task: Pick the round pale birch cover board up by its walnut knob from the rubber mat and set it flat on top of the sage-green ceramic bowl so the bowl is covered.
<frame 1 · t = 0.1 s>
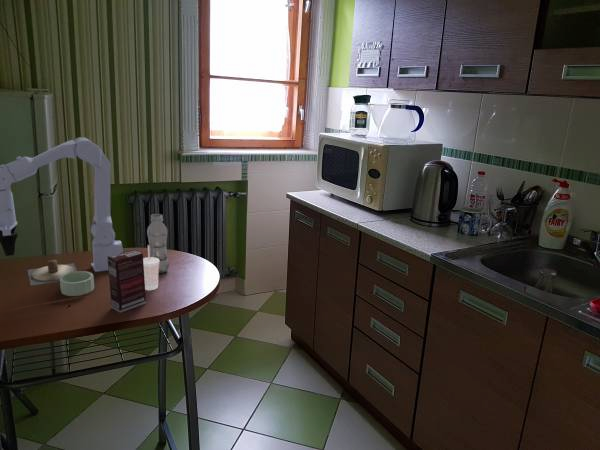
hand: (9, 251, 145), 10 cm above the table, tool pointing down, fingers open, 7 cm apart
supplement box: (128, 306, 136), on the table
plastic bottle: (159, 272, 160), on the table
beverage cup: (150, 287, 148), on the table
mat: (53, 274, 154), on the table
cover board: (53, 273, 153), resting on mat
bowl: (77, 290, 143), on the table
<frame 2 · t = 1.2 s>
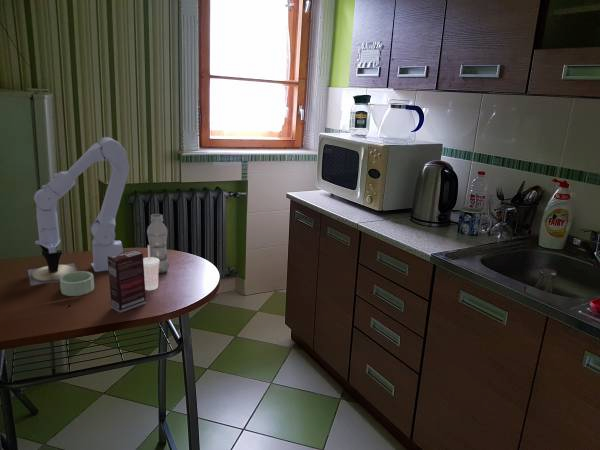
hand: (52, 267, 153), 3 cm above the table, tool pointing down, fingers open, 7 cm apart
nothing on the table moved.
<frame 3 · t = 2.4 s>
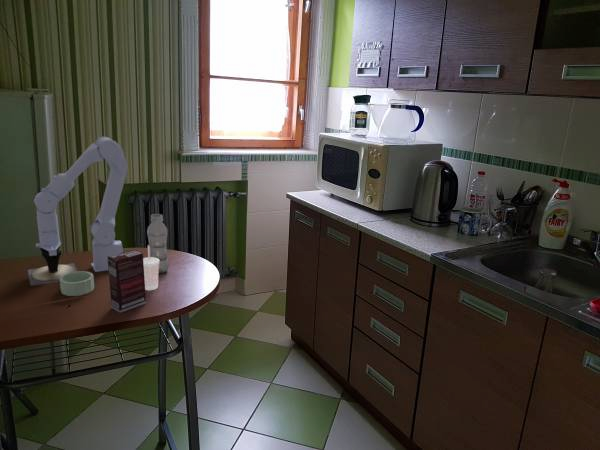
hand: (53, 269, 153), 2 cm above the table, tool pointing down, fingers closed on cover board, 3 cm apart
cover board: (53, 273, 153), resting on mat, touching gripper
everything else where it was.
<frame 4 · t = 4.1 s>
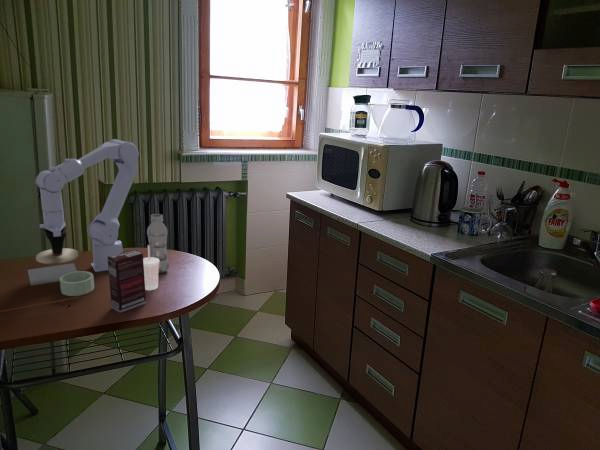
hand: (57, 251, 148), 9 cm above the table, tool pointing down, fingers closed on cover board, 3 cm apart
cover board: (57, 256, 148), point 8 cm above the table, touching gripper
everything else where it was.
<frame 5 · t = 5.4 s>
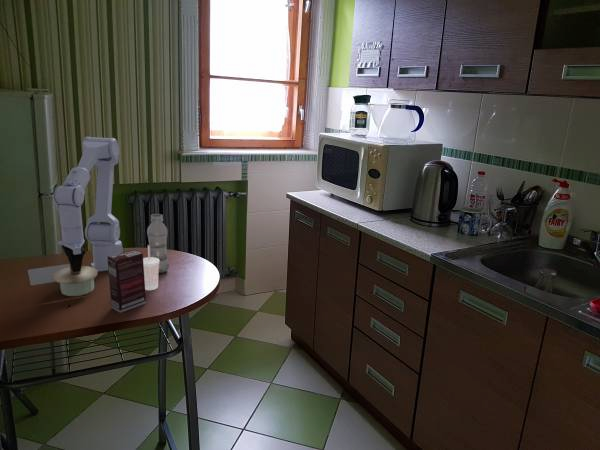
hand: (75, 269, 141), 7 cm above the table, tool pointing down, fingers closed on cover board, 3 cm apart
cover board: (75, 275, 142), point 5 cm above the table, touching gripper
everything else where it was.
when the fingers open (7 cm above the table, at t = 6.0 s): cover board stays where it is, resting on bowl.
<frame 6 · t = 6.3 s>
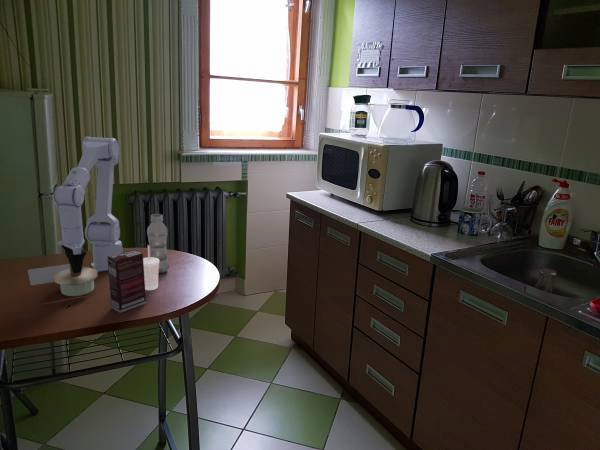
hand: (75, 269, 141), 7 cm above the table, tool pointing down, fingers open, 5 cm apart
cover board: (76, 277, 142), point 4 cm above the table, touching bowl
everything else where it was.
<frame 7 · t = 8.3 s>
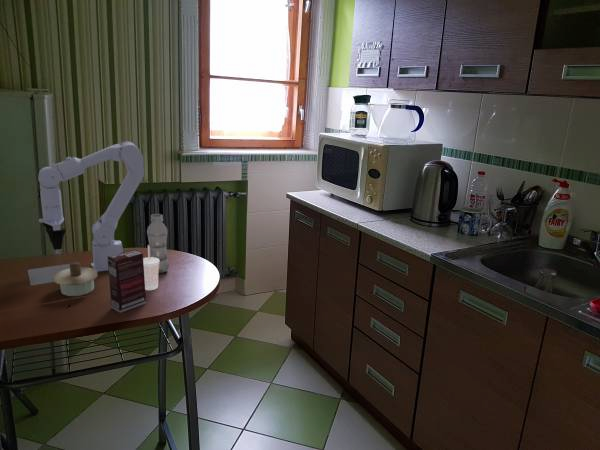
hand: (56, 245, 153), 9 cm above the table, tool pointing down, fingers open, 7 cm apart
nothing on the table moved.
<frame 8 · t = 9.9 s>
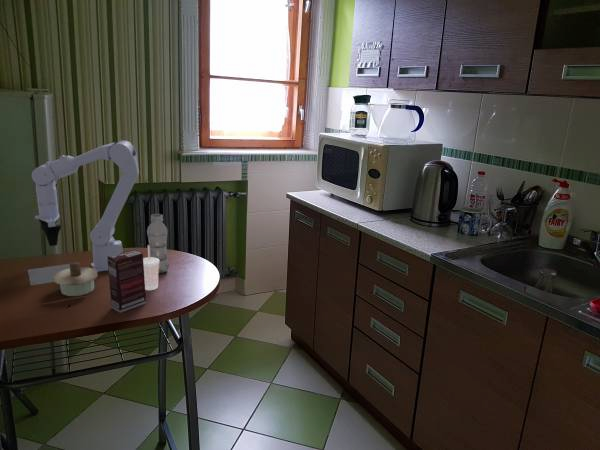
hand: (52, 241, 156), 9 cm above the table, tool pointing down, fingers open, 7 cm apart
nothing on the table moved.
at the end: cover board 0.2 cm off-centre on the bowl, point 4.5 cm above the bowl's base; cover board tilted 0°; the gripper is holding nothing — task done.
